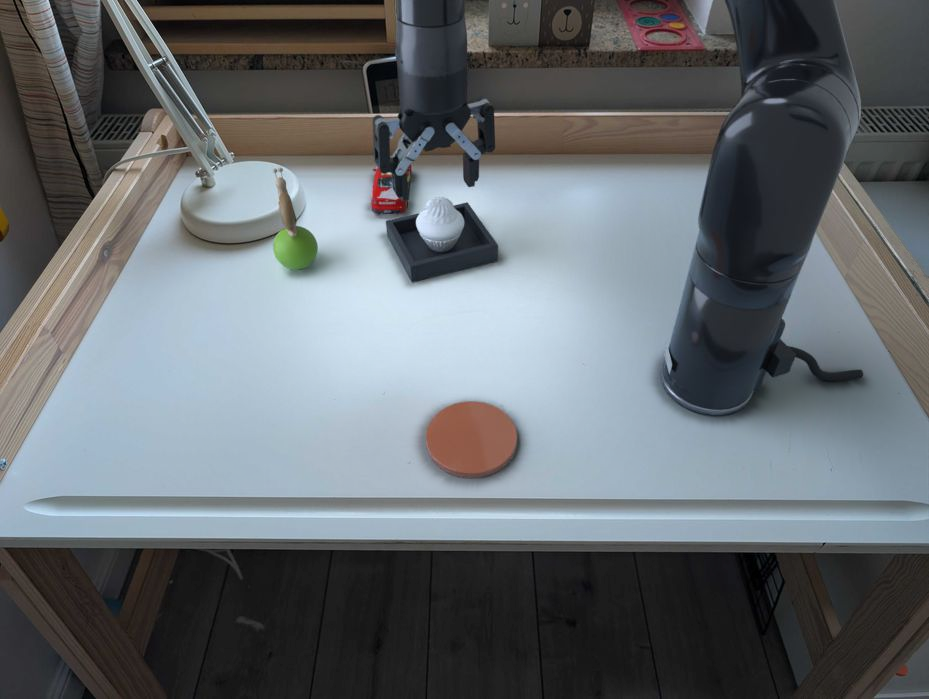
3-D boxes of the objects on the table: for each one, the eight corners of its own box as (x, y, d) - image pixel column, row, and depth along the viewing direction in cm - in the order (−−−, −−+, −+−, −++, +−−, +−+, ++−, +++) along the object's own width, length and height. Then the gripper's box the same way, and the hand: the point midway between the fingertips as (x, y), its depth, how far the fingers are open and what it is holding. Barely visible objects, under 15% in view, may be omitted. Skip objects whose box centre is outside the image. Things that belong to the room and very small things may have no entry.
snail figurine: (315, 244, 95) (299, 163, 86) (324, 273, 90) (308, 190, 82) (274, 252, 93) (254, 171, 85) (281, 282, 89) (260, 199, 81)
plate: (495, 396, 75) (495, 391, 75) (531, 461, 69) (532, 456, 69) (414, 421, 73) (413, 415, 72) (444, 490, 67) (443, 485, 66)
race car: (378, 170, 108) (376, 145, 105) (414, 170, 108) (412, 145, 105) (367, 219, 99) (364, 194, 96) (406, 219, 98) (404, 194, 96)
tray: (467, 217, 99) (467, 202, 97) (497, 261, 92) (498, 245, 90) (387, 236, 96) (385, 220, 94) (411, 282, 89) (410, 266, 87)
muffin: (469, 234, 95) (469, 188, 90) (458, 262, 91) (457, 215, 86) (424, 229, 96) (421, 183, 91) (411, 256, 92) (408, 209, 87)
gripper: (377, 84, 72) (390, 219, 83) (507, 62, 76) (502, 194, 87) (357, 55, 77) (372, 186, 88) (480, 36, 80) (479, 164, 92)
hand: (436, 190), depth 88 cm, fingers open, 8 cm apart
